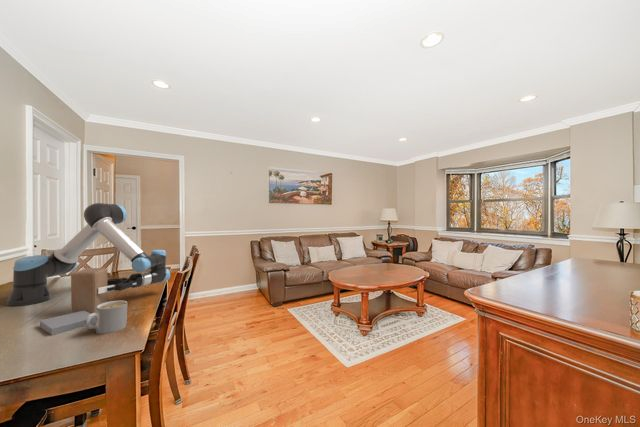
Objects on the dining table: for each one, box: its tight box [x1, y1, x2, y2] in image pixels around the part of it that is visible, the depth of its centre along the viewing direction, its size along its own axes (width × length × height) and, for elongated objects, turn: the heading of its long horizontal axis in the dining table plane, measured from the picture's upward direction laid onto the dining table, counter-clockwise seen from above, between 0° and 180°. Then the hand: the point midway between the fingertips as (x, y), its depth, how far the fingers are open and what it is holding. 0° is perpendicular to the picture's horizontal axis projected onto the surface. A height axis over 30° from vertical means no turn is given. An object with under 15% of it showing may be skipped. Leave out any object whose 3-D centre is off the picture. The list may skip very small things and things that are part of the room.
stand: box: [39, 310, 96, 336], centre depth 107 cm, size 14×14×2 cm
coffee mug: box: [85, 300, 128, 335], centre depth 103 cm, size 13×10×10 cm
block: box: [70, 267, 109, 314], centre depth 121 cm, size 10×10×20 cm
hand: (91, 288), depth 121 cm, fingers closed on block, 13 cm apart
